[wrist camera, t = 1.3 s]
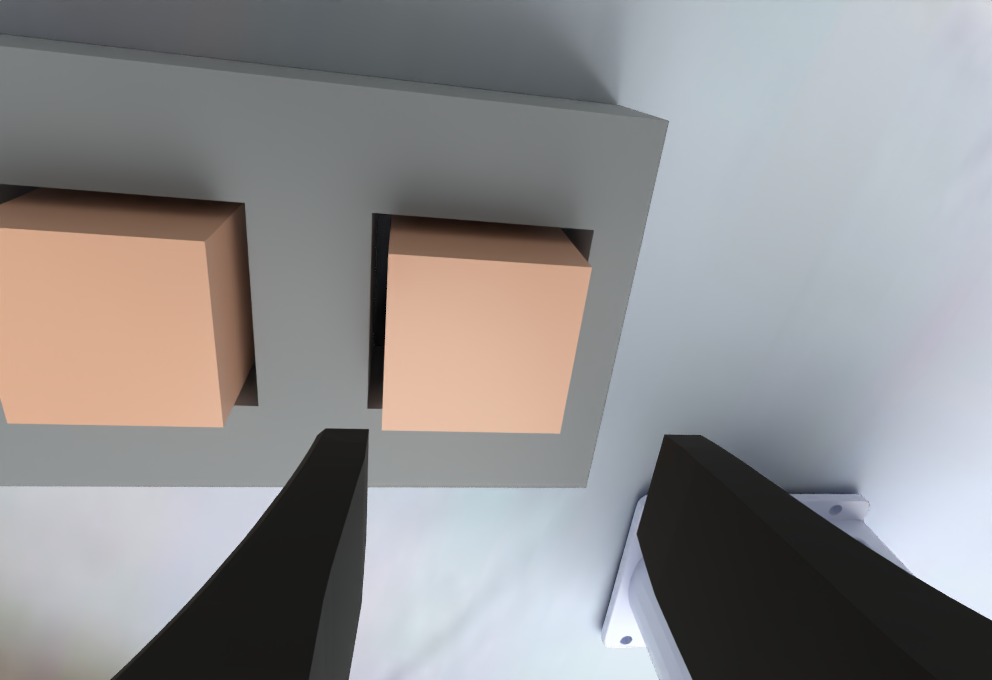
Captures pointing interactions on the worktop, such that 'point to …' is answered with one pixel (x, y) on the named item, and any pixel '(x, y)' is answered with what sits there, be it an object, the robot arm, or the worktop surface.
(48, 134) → the switch block
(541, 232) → the button
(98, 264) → the button
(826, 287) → the worktop surface
